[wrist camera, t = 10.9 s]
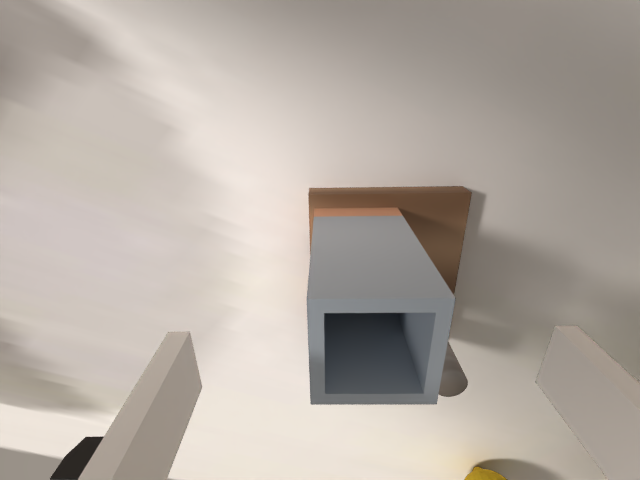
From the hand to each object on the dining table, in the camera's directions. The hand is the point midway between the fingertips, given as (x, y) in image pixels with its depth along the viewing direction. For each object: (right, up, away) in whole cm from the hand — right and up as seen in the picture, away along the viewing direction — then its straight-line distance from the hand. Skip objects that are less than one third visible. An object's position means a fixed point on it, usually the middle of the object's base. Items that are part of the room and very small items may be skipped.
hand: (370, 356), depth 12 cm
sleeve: (0, +4, +10) cm, 10 cm away
